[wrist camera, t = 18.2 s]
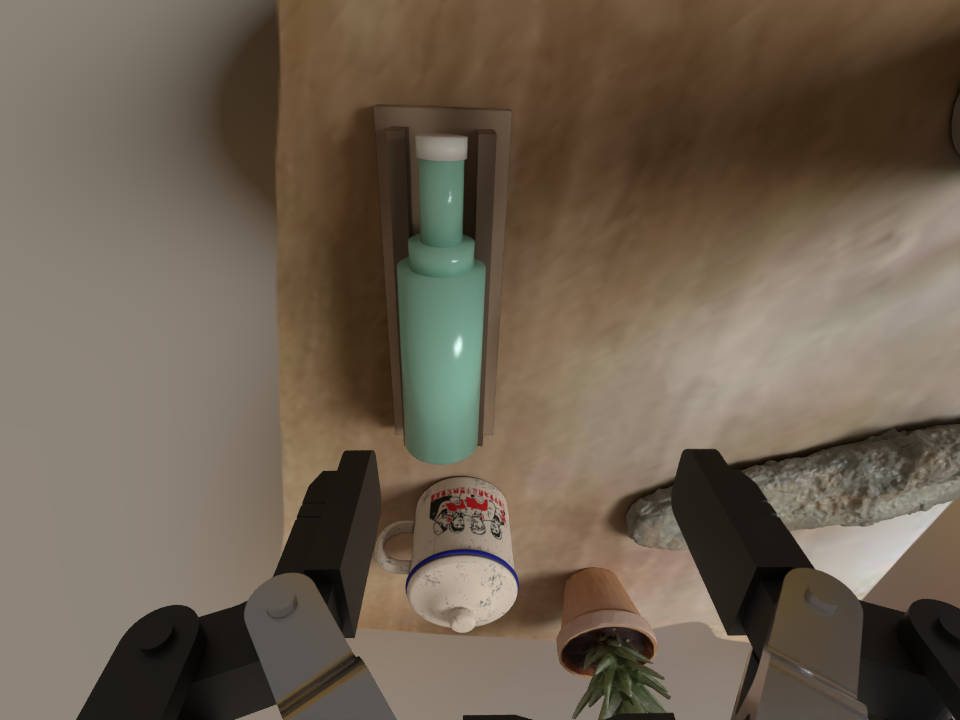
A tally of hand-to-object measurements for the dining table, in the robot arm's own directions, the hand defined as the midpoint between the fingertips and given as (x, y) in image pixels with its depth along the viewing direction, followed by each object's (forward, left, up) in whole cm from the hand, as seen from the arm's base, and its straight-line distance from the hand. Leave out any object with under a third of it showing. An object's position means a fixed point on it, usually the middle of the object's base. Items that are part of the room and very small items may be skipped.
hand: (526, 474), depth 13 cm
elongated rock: (-31, +23, -25) cm, 46 cm away
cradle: (+3, +5, -24) cm, 25 cm away
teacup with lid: (+3, +27, -24) cm, 36 cm away
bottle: (+3, +14, -18) cm, 23 cm away
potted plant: (-13, +39, -24) cm, 48 cm away
